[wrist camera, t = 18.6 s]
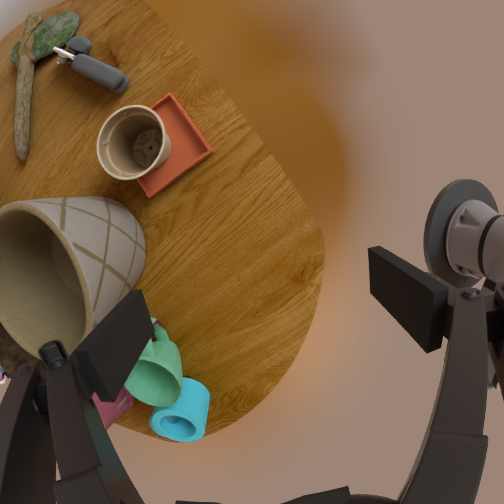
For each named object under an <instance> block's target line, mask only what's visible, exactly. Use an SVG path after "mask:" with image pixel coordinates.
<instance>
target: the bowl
mask: <svg viewBox="0 0 504 504" xmlns="http://www.w3.org/2000/svg"><path fill="white" fill-rule="evenodd" d="M26 363H34V364H35V366H36V368H37V369H38V371H44V370H46V367H45V366H44V364H43V362H42V360H41V359H39V358H37V357H35V356H33V355H32V354H30V353H29V352H27V351H26V350H25V349H23V348H22V347H21V346H20V345H19V344H18V343H17V342H16V341H15V340H14V339H13V338H12V337H11V336H10V334H9V333H8V332H7V331H6V329H5V328H4V326H3V325H2V323H1V322H0V366H1V367H2V369H3V370H4V371H5V372H6V374H7V375H8V376H9V377H10V378H11V379H12V377H13V375H14V373H15V371H16V370H17V369H18V368H19V366H20V365H22V364H26Z"/></svg>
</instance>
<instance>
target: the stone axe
mask: <svg viewBox="0 0 504 504" xmlns="http://www.w3.org/2000/svg"><path fill="white" fill-rule="evenodd" d="M78 24H79V16H78V14H76V13H74V12H72V11H70V12H66V13H62V14H58V15H55V16H53V17H51V18H49V19H47V20H45V21H42V14H41V13H39V12H33V13H30V14H29V15H28V16H27V19H26V22H25V28H24V33H23V36H22V37H21V38H20V41H19V42H18V43H17V44H16V45H15V46H14V47H13V49H12V53H11V62H12V63H14V64H15V65H16V67H17V68H18V73H17V82H16V93H15V120H14V143H15V149H16V153H17V155H18V157H19V158H20V159H21V160H22V161H26V159H27V156H28V149H29V135H30V106H31V98H32V86H33V75H34V65H35V63H36V62H37V61H38V59H40V58H43V57H45V56H47V55H49V54H52V53H53V52H55V51H54V50H53V48H54V47H57V48H61V47H62V46H64V45H65V44H67V42H68V41H69V40H70V39H71V38H72V36H73V35H74V34H75V32H76V29H77V27H78Z"/></svg>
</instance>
